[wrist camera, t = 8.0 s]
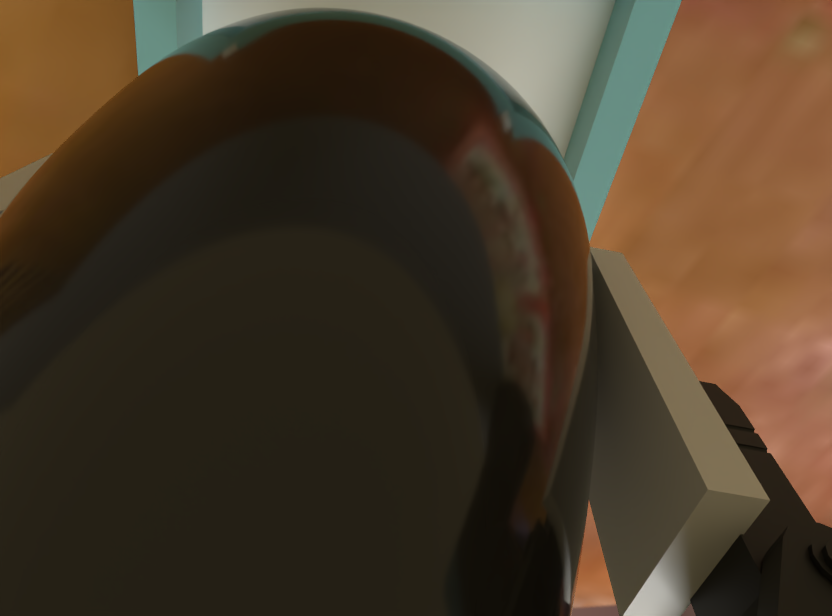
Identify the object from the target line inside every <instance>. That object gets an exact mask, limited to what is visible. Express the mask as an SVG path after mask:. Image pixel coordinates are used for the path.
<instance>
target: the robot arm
mask: <svg viewBox="0 0 832 616" xmlns="http://www.w3.org/2000/svg"><path fill="white" fill-rule="evenodd" d="M52 154H53V153H52ZM52 154H50V155H48V156H46V157H44V158H42V159H40V160H38V161H35V162H33V163H31V164H29V165H27V166H25V167H23V168H21V169H19V170H17V171H15V172H13V173H11V174H8V175H6V176H4V177H2V178H0V214H1V213H2V212H3V210H4V209H5V208H6V207H7V205H8V204H9V203H10V202H11V200H12V199H13V198H14V197H15V196H16V194H17V193H18V192H19V191H20V189H21V188H22V187H23V186H24V185H25V184H26V182H27V181H28V180H29V179H30V178H31V177H32V176H33V175H34V173H35V172H36V171H37V170H38V169H39V168H40V167H41V166H42V165H43V164H44V163H45V161H46V160H47V159H48V158H49V157H50V156H51V155H52ZM590 251H591V259H592V267H593V277H594V288H595V300H596V315H597V332H598V398H597V416H596V431H595V444H594V455H593V465H592V475H591V484H590V492H589V501H590V505H591V509H592V513H593V516H594V520H595V524H596V528H597V532H598V535H599V539H600V543H601V547H602V551H603V555H604V558H605V562H606V566H607V570H608V574H609V577H610V581H611V585H612V589H613V593H614V597H615V600H616V604H617V608H618V612H619V616H681V615H682V614H683V613H684V611H685V610H686V609H687V607H688V606H689V605H690V604H692V606H693V609H694V612H695V614H696V616H832V528H830V527H828V526H825V525H823V524H820V523H816V522H815V520H814V519H813V517H812V516H811V514H810V513H809V511H808V510H807V508H806V506H805V505H804V503H803V502H802V500H801V499H800V497H799V496H798V494H797V493H796V491H795V490H794V488H793V487H792V485H791V484H790V482H789V481H788V479H787V478H786V476H785V474H784V473H783V471H782V470H781V468H780V467H779V465H778V464H777V462H776V461H775V459H774V458H773V456H772V455H771V453H767V447H766V446H765V444H764V443H763V441H762V439H761V438H760V436H759V435H758V434H756V433H754V430H755V429H754V427H753V426H752V424H751V423H750V421H749V420H748V418H747V417H746V415H745V414H744V412H743V411H742V409H741V408H740V406H739V405H738V404H737V403H736V402H735V401H733V400H732V399H731V398H730V397H729V396H728V395H727V394H726V393H725V392H723V391H722V390H721V389H720V388H719V387H718V386H717V385H716V384H712V383H706V382H701V381H699V380H698V379H697V377H696V375H695V374H694V372H693V370H692V369H691V367H690V365H689V364H688V362H687V360H686V359H685V357H684V355H683V354H682V352H681V350H680V349H679V347H678V345H677V344H676V342H675V340H674V339H673V337H672V335H671V334H670V332H669V330H668V329H667V327H666V325H665V324H664V322H663V320H662V319H661V317H660V315H659V314H658V312H657V310H656V309H655V307H654V305H653V304H652V302H651V300H650V299H649V297H648V295H647V294H646V292H645V290H644V289H643V287H642V285H641V284H640V282H639V280H638V279H637V277H636V275H635V274H634V272H633V270H632V269H631V267H630V265H629V264H628V262H627V260H626V259H625V257H624V255H623V254H622V253H619V252H614V251H609V250H603V249H598V248H593V247H590Z"/></svg>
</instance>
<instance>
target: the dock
mask: <svg viewBox="0 0 832 616" xmlns="http://www.w3.org/2000/svg"><path fill="white" fill-rule="evenodd" d="M681 1H682V0H133V5H134V19H135V34H136V48H137V63H138V76H139V75H140V74H141V73H143V72H144V71H145V70H147V69H148V68H149V67H151V66H152V65H154V64H155V63H156V62H158V61H159V60H161V59H162V58H164V57H165V56H167V55H168V54H170V53H172V52H173V51H175V50H176V49H178V48H180V47H182V46H183V45H185V44H187V43H189V42H191V41H193V40H195V39H196V38H198V37H201V36H203V35H205V34H207V33H209V32H211V31H214V30H216V29H218V28H221V27H224V26H226V25H229V24H231V23H234V22H237V21H240V20H243V19H247V18H250V17H254V16H258V15H261V14H266V13H271V12H276V11H282V10H289V9H299V8H342V9H352V10H359V11H366V12H371V13H376V14H381V15H385V16H389V17H393V18H396V19H400V20H403V21H406V22H409V23H412V24H414V25H417V26H420V27H422V28H425V29H427V30H429V31H432V32H434V33H436V34H438V35H440V36H442V37H444V38H446V39H448V40H450V41H452V42H454V43H455V44H457V45H459V46H461V47H462V48H464V49H465V50H467V51H469V52H470V53H472V54H473V55H475V56H476V57H478V58H479V59H480V60H482V61H483V62H485V63H486V64H487V65H488V66H490V67H491V68H492V69H493V70H495V71H496V72H497V73H498V74H499V75H501V76H502V77H503V78H504V79H505V80H506V81H507V82H508V83H509V84H510V85H511V86H512V87H513V88H514V89H515V90H516V91H517V92H518V93H519V94H520V95H521V96H522V97H523V98H524V99H525V101H526V102H527V103H528V104H529V105H530V107H531V108H532V109H533V110H534V112H535V113H536V114H537V116H538V117H539V118H540V120H541V121H542V122H543V124H544V125H545V127H546V129H547V130H548V132H549V133H550V135H551V137H552V138H553V140H554V142H555V144H556V145H557V147H558V149H559V151H560V153H561V155H562V157H563V159H564V161H565V163H566V166H567V168H568V170H569V173H570V175H571V177H572V180H573V183H574V186H575V188H576V191H577V194H578V197H579V201H580V204H581V207H582V211H583V215H584V219H585V223H586V228H587V233H588V238H589V242H590V239H591V236H592V234H593V231H594V228H595V226H596V223H597V221H598V218H599V215H600V213H601V210H602V207H603V205H604V202H605V200H606V197H607V194H608V192H609V189H610V187H611V184H612V181H613V179H614V176H615V173H616V171H617V168H618V166H619V163H620V160H621V158H622V155H623V152H624V150H625V147H626V145H627V142H628V139H629V137H630V134H631V132H632V129H633V126H634V124H635V121H636V118H637V116H638V113H639V111H640V108H641V105H642V103H643V100H644V97H645V95H646V92H647V90H648V87H649V84H650V82H651V79H652V77H653V74H654V71H655V69H656V66H657V63H658V61H659V58H660V56H661V53H662V50H663V48H664V45H665V42H666V40H667V37H668V35H669V32H670V29H671V27H672V24H673V22H674V19H675V16H676V14H677V11H678V8H679V6H680V3H681Z"/></svg>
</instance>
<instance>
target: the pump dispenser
mask: <svg viewBox="0 0 832 616" xmlns="http://www.w3.org/2000/svg"><path fill="white" fill-rule="evenodd" d="M597 398H598V332H597V315H596V300H595V288H594V277H593V267H592V259H591V251H590V244H589V238H588V233H587V228H586V223H585V219H584V215H583V211H582V207H581V204H580V201H579V197H578V194H577V191H576V188H575V186H574V183H573V180H572V177H571V175H570V173H569V170H568V168H567V166H566V163H565V161H564V159H563V157H562V155H561V153H560V151H559V149H558V147H557V145H556V144H555V142H554V140H553V138H552V137H551V135H550V133H549V132H548V130H547V129H546V127H545V125H544V124H543V122H542V121H541V120H540V118H539V117H538V116H537V114H536V113H535V112H534V110H533V109H532V108H531V107H530V105H529V104H528V103H527V102H526V101H525V99H524V98H523V97H522V96H521V95H520V94H519V93H518V92H517V91H516V90H515V89H514V88H513V87H512V86H511V85H510V84H509V83H508V82H507V81H506V80H505V79H504V78H503V77H502V76H501V75H499V74H498V73H497V72H496V71H495V70H493V69H492V68H491V67H490V66H488V65H487V64H486V63H485V62H483V61H482V60H480V59H479V58H478V57H476V56H475V55H473V54H472V53H470V52H469V51H467V50H465V49H464V48H462V47H461V46H459V45H457V44H455V43H454V42H452V41H450V40H448V39H446V38H444V37H442V36H440V35H438V34H436V33H434V32H432V31H429V30H427V29H425V28H422V27H420V26H417V25H414V24H412V23H409V22H406V21H403V20H400V19H396V18H393V17H389V16H385V15H381V14H376V13H371V12H366V11H359V10H352V9H342V8H299V9H289V10H282V11H276V12H271V13H266V14H261V15H258V16H254V17H250V18H247V19H243V20H240V21H237V22H234V23H231V24H229V25H226V26H224V27H221V28H218V29H216V30H214V31H211V32H209V33H207V34H205V35H203V36H201V37H198V38H196V39H195V40H193V41H191V42H189V43H187V44H185V45H183V46H182V47H180V48H178V49H176V50H175V51H173V52H172V53H170V54H168V55H167V56H165V57H164V58H162V59H161V60H159V61H158V62H156V63H155V64H154V65H152V66H151V67H149V68H148V69H147V70H145V71H144V72H143V73H141V74H140V75H139V76H138V77H137V78H135V79H134V80H133V81H132V82H130V83H129V84H128V85H127V86H126V87H124V88H123V89H122V90H121V91H120V92H118V93H117V94H116V95H115V96H114V97H113V98H111V99H110V100H109V101H108V102H107V103H106V104H105V105H103V106H102V107H101V108H100V109H99V110H98V111H97V112H96V113H94V114H93V115H92V116H91V117H90V118H89V119H88V120H87V121H86V122H85V123H84V124H83V125H81V126H80V127H79V128H78V129H77V130H76V131H75V132H74V133H73V134H72V135H71V136H70V137H69V138H68V139H67V140H66V141H65V142H64V143H63V144H62V145H61V146H60V147H59V148H58V149H57V150H56V151H55V152H54V153H53V154H52V155H51V156H50V157H49V158H48V159H47V160H46V161H45V163H44V164H43V165H42V166H41V167H40V168H39V169H38V170H37V171H36V172H35V173H34V175H33V176H32V177H31V178H30V179H29V180H28V181H27V182H26V184H25V185H24V186H23V187H22V188H21V189H20V191H19V192H18V193H17V194H16V196H15V197H14V198H13V199H12V200H11V202H10V203H9V204H8V205H7V207H6V208H5V209H4V210H3V212H2V213H1V214H0V616H571V613H572V608H573V602H574V596H575V590H576V584H577V578H578V572H579V565H580V559H581V552H582V545H583V538H584V531H585V524H586V516H587V508H588V501H589V492H590V484H591V475H592V465H593V455H594V444H595V431H596V416H597Z"/></svg>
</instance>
